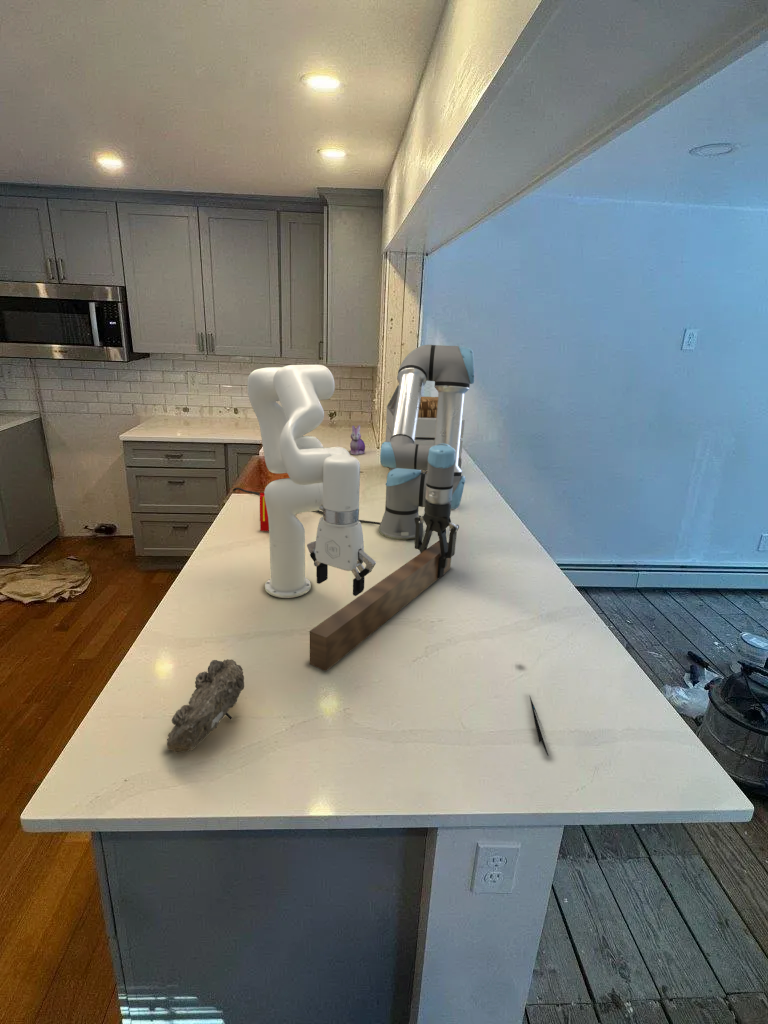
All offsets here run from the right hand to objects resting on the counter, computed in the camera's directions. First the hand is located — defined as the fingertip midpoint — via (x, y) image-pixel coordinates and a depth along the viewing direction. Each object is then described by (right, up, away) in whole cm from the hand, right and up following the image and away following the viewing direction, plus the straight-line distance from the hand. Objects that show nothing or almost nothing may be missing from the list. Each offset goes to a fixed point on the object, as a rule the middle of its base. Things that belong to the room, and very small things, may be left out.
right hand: (432, 574), depth 169 cm
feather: (+16, -21, -55) cm, 60 cm away
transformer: (+3, +37, +106) cm, 112 cm away
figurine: (-29, +50, +138) cm, 150 cm away
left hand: (-24, +2, -44) cm, 51 cm away
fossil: (-47, -21, -61) cm, 80 cm away
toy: (-53, +16, +40) cm, 69 cm away
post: (-12, -7, -19) cm, 24 cm away
